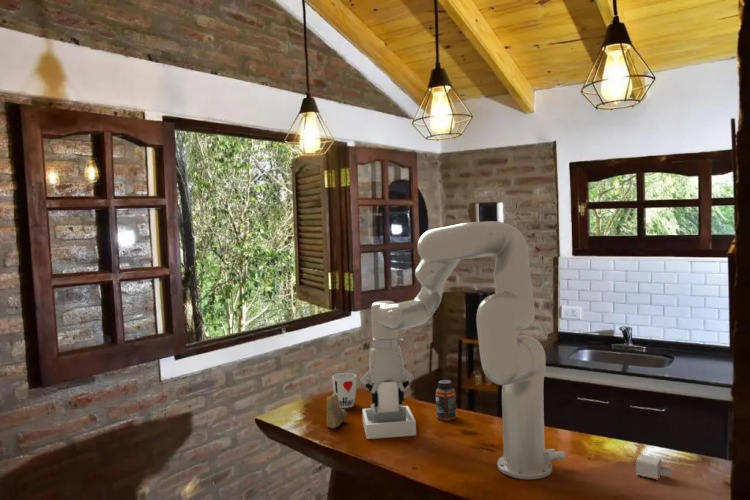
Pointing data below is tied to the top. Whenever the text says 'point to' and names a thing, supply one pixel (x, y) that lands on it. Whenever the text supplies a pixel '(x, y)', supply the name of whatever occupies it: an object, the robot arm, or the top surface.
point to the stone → (334, 412)
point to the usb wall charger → (650, 466)
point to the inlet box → (388, 423)
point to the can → (387, 397)
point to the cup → (345, 388)
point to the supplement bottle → (445, 401)
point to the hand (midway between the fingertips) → (388, 403)
